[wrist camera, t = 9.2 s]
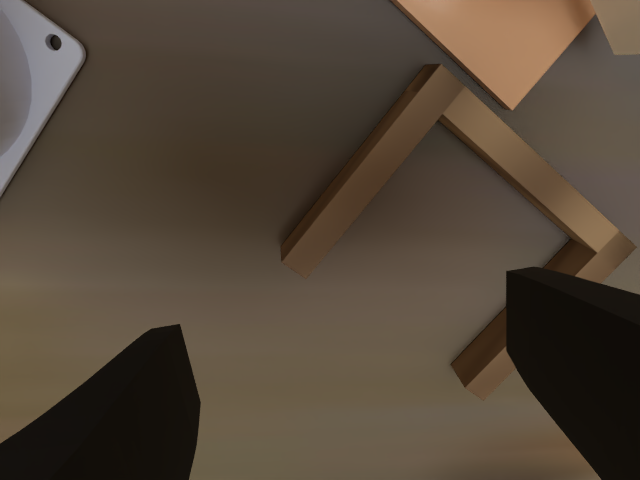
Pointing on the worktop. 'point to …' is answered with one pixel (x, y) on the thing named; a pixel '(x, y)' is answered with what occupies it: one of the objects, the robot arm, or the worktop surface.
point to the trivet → (501, 38)
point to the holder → (498, 152)
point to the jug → (620, 24)
